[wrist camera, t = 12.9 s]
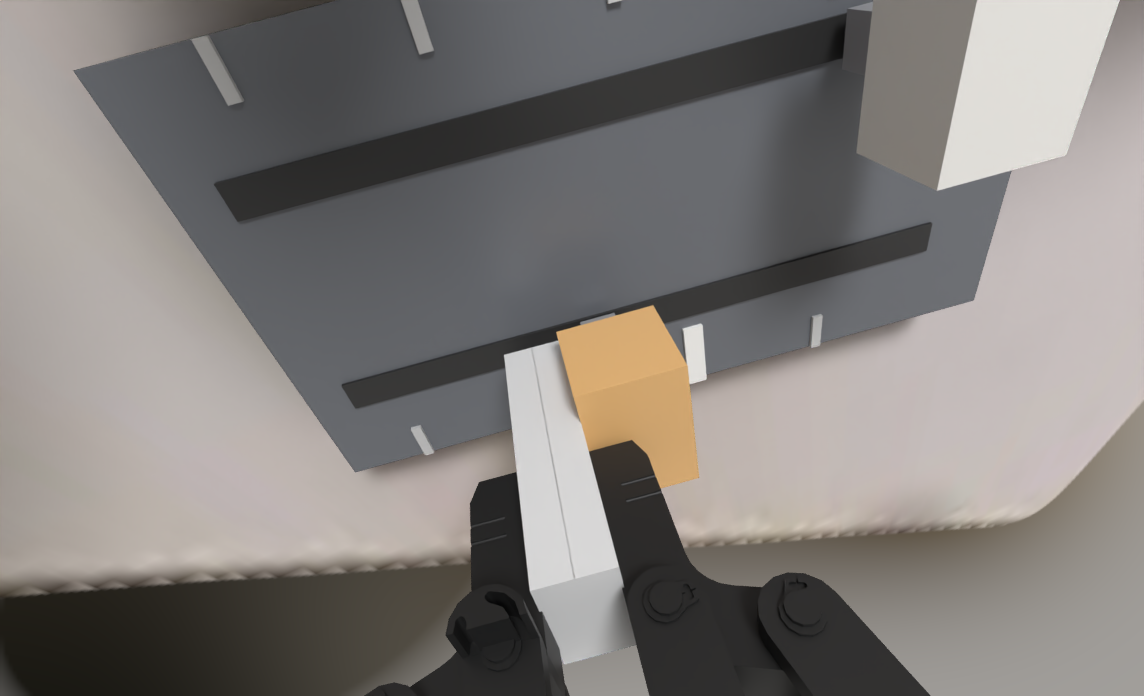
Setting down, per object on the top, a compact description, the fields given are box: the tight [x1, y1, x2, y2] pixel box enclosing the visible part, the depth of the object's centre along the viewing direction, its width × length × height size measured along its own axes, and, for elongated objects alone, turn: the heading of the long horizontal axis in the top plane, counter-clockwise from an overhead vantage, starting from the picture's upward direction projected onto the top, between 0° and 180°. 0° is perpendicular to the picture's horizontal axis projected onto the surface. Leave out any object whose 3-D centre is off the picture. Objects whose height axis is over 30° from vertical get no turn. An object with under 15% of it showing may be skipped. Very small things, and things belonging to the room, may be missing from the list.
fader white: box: [842, 0, 1120, 191], centre depth 10 cm, size 2×4×4 cm, turn 12°
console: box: [74, 0, 1011, 472], centre depth 15 cm, size 21×12×2 cm, turn 102°
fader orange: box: [556, 305, 699, 488], centre depth 14 cm, size 2×4×4 cm, turn 12°
